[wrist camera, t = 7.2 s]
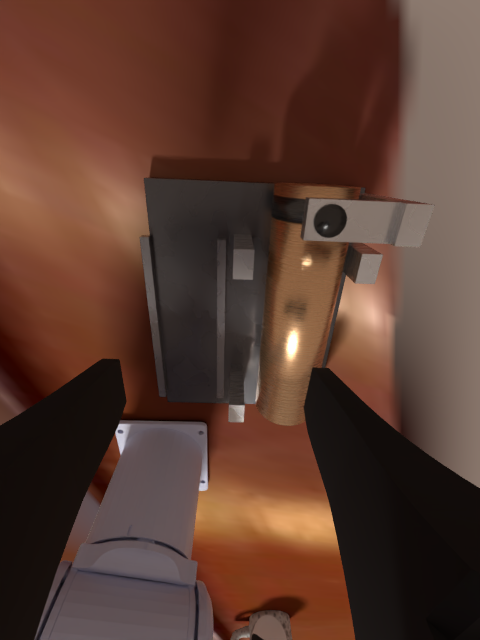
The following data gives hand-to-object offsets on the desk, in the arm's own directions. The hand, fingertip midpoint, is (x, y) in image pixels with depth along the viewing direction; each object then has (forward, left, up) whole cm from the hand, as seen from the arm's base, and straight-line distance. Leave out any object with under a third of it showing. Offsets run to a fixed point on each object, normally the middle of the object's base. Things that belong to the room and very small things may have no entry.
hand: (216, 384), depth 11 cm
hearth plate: (-1, -2, -10) cm, 10 cm away
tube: (0, -4, -9) cm, 9 cm away
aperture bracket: (+6, -5, -9) cm, 12 cm away
